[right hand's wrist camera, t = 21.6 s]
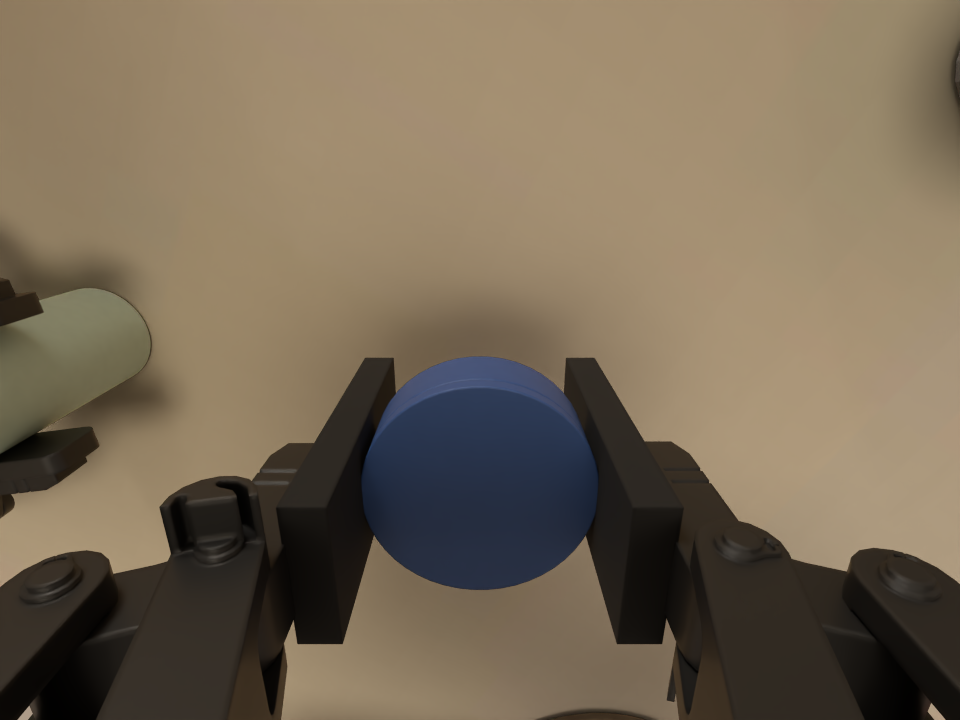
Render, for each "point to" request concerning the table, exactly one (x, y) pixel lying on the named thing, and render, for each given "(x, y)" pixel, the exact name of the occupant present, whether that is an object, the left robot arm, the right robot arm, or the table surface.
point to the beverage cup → (958, 74)
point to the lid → (479, 475)
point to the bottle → (66, 359)
